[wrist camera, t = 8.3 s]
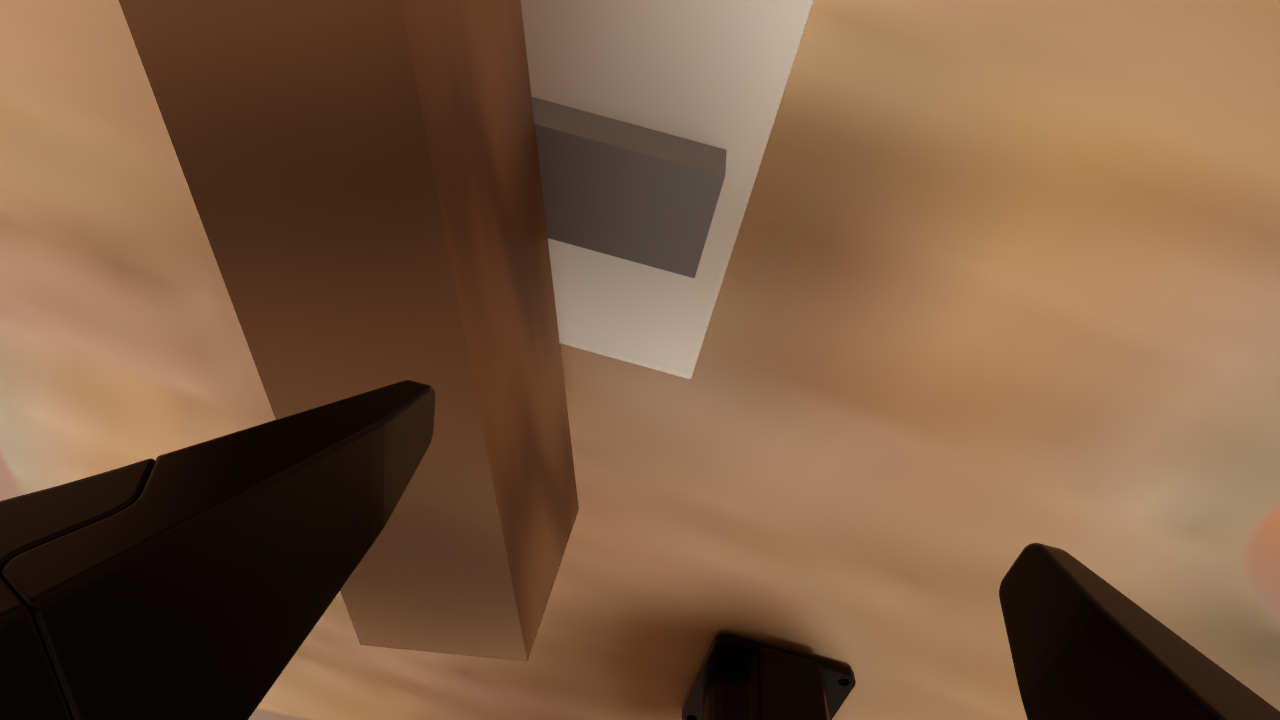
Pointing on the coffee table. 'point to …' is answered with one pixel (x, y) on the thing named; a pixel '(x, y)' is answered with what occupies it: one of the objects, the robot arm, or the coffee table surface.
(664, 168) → the fulcrum
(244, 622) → the robot arm
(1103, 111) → the coffee table surface
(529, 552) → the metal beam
